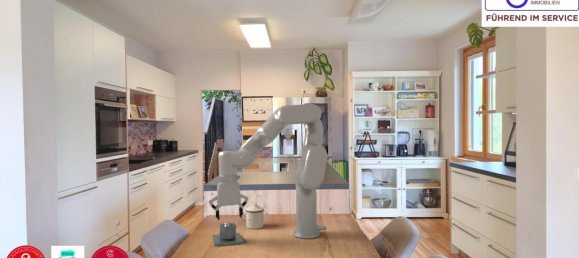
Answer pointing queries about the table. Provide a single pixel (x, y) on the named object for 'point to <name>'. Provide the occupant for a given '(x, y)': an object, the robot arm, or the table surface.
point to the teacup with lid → (254, 217)
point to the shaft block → (222, 242)
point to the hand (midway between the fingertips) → (229, 218)
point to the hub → (228, 231)
